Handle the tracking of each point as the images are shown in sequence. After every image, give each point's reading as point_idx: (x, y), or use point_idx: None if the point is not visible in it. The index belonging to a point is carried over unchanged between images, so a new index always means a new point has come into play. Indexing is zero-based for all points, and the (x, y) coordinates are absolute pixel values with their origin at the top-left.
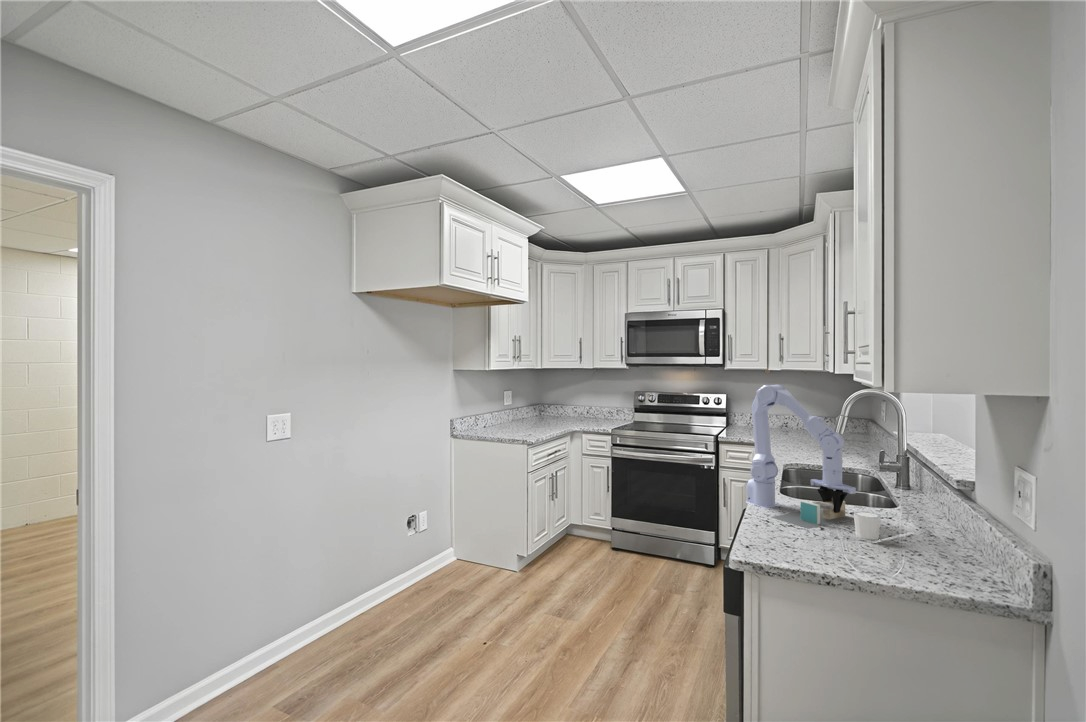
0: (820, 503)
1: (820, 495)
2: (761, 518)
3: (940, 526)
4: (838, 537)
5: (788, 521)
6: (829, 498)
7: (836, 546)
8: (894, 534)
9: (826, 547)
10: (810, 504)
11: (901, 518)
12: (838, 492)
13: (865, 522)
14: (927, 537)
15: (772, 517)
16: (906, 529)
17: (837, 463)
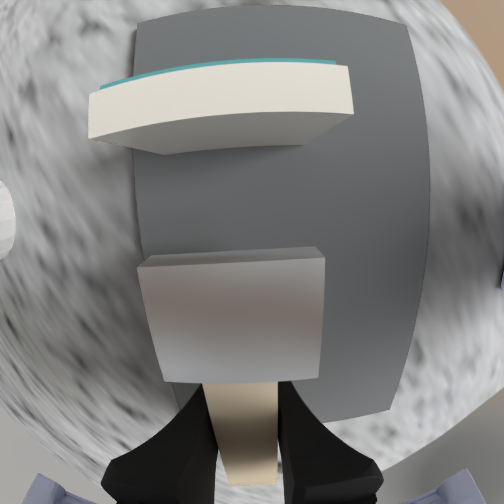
0: (258, 330)
1: (338, 438)
2: (415, 10)
3: (100, 481)
4: (27, 104)
5: (298, 20)
6: (284, 458)
7: (7, 39)
8: (23, 354)
9: (22, 6)
10: (181, 67)
11: None
12: (116, 493)
13: None
14: (14, 391)
15: (394, 23)
16: (71, 427)
17: None
